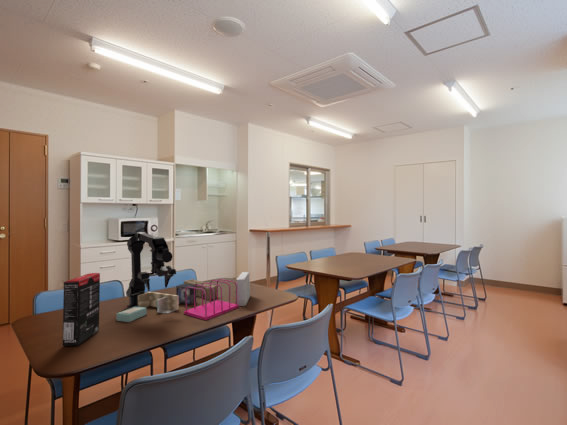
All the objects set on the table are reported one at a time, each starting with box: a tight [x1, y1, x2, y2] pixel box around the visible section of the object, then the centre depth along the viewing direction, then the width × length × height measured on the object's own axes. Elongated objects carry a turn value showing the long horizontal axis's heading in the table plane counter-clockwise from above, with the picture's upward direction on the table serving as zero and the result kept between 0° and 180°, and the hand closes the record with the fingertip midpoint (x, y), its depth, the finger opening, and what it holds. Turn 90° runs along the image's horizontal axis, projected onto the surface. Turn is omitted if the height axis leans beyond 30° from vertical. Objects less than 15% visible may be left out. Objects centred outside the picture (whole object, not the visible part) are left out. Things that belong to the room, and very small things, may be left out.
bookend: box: [156, 296, 177, 315], centre depth 169 cm, size 7×7×7 cm
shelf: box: [138, 291, 180, 311], centre depth 172 cm, size 22×8×8 cm, turn 68°
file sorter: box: [183, 278, 240, 321], centre depth 170 cm, size 17×25×16 cm
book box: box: [116, 306, 148, 323], centre depth 160 cm, size 8×12×4 cm, turn 161°
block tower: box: [183, 278, 217, 301], centre depth 203 cm, size 8×8×29 cm
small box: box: [175, 283, 197, 306], centre depth 185 cm, size 11×6×10 cm, turn 68°
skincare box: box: [235, 271, 251, 307], centre depth 188 cm, size 21×6×16 cm, turn 178°
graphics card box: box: [62, 272, 101, 347], centre depth 133 cm, size 17×7×27 cm, turn 5°
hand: (157, 289), depth 164 cm, fingers open, 9 cm apart
